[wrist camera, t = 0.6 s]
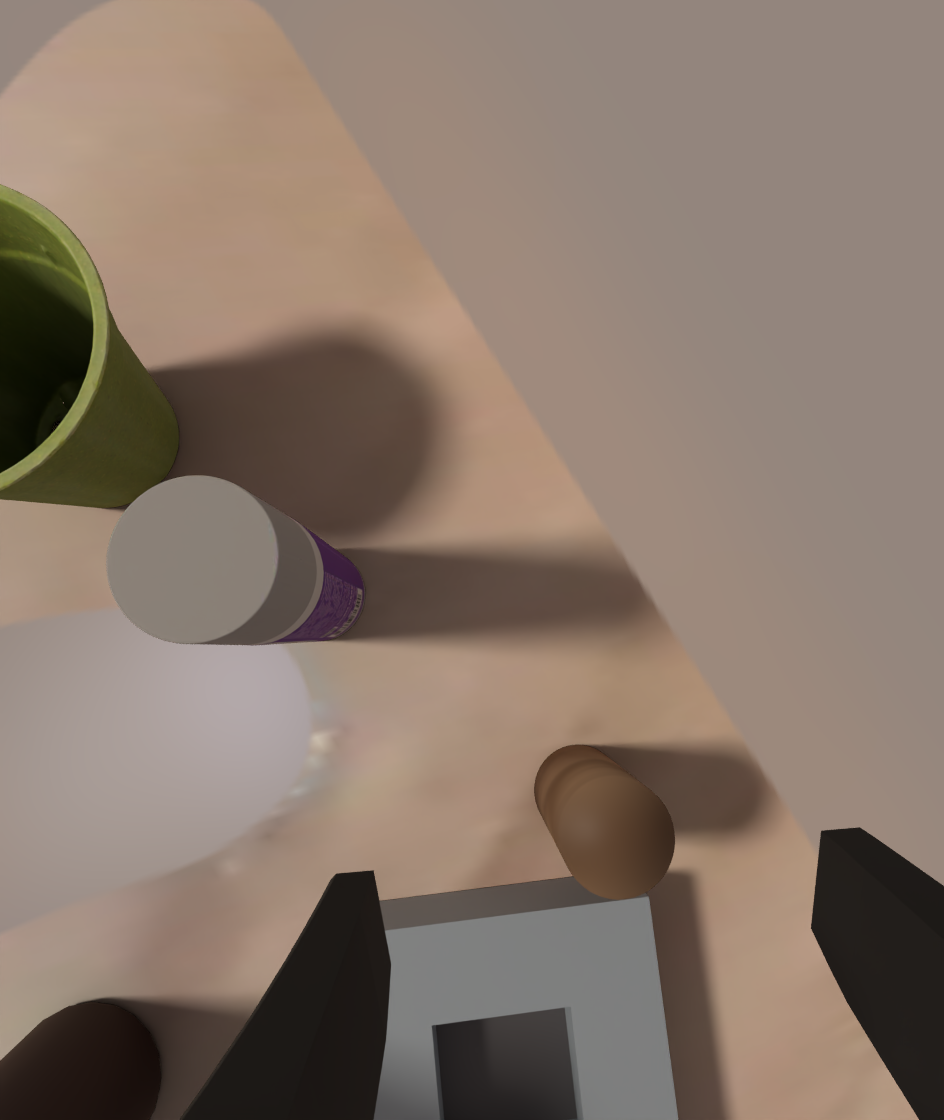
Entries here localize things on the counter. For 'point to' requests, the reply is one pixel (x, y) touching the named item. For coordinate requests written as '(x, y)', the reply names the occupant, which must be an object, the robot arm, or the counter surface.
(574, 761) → the peg
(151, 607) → the container
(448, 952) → the socket block
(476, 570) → the counter surface
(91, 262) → the plant pot
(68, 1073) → the bottle
